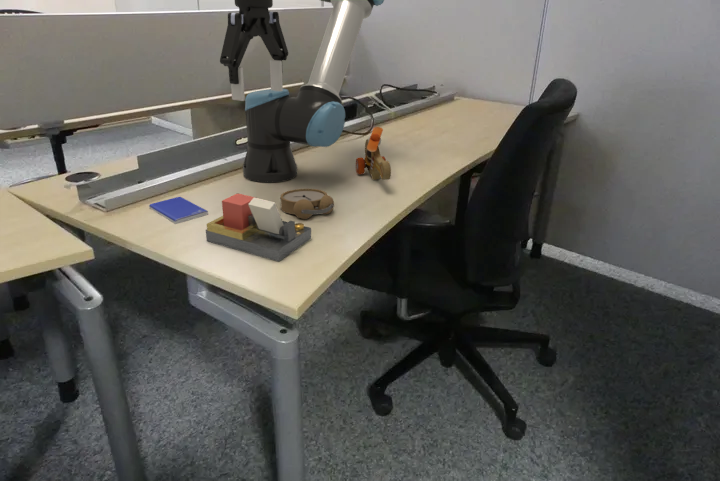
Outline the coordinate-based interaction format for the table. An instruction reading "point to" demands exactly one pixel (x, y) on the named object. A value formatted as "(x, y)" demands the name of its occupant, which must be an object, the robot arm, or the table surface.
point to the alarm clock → (306, 202)
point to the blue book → (178, 210)
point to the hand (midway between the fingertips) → (258, 95)
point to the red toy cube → (236, 211)
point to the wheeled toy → (374, 158)
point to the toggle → (267, 216)
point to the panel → (259, 238)
